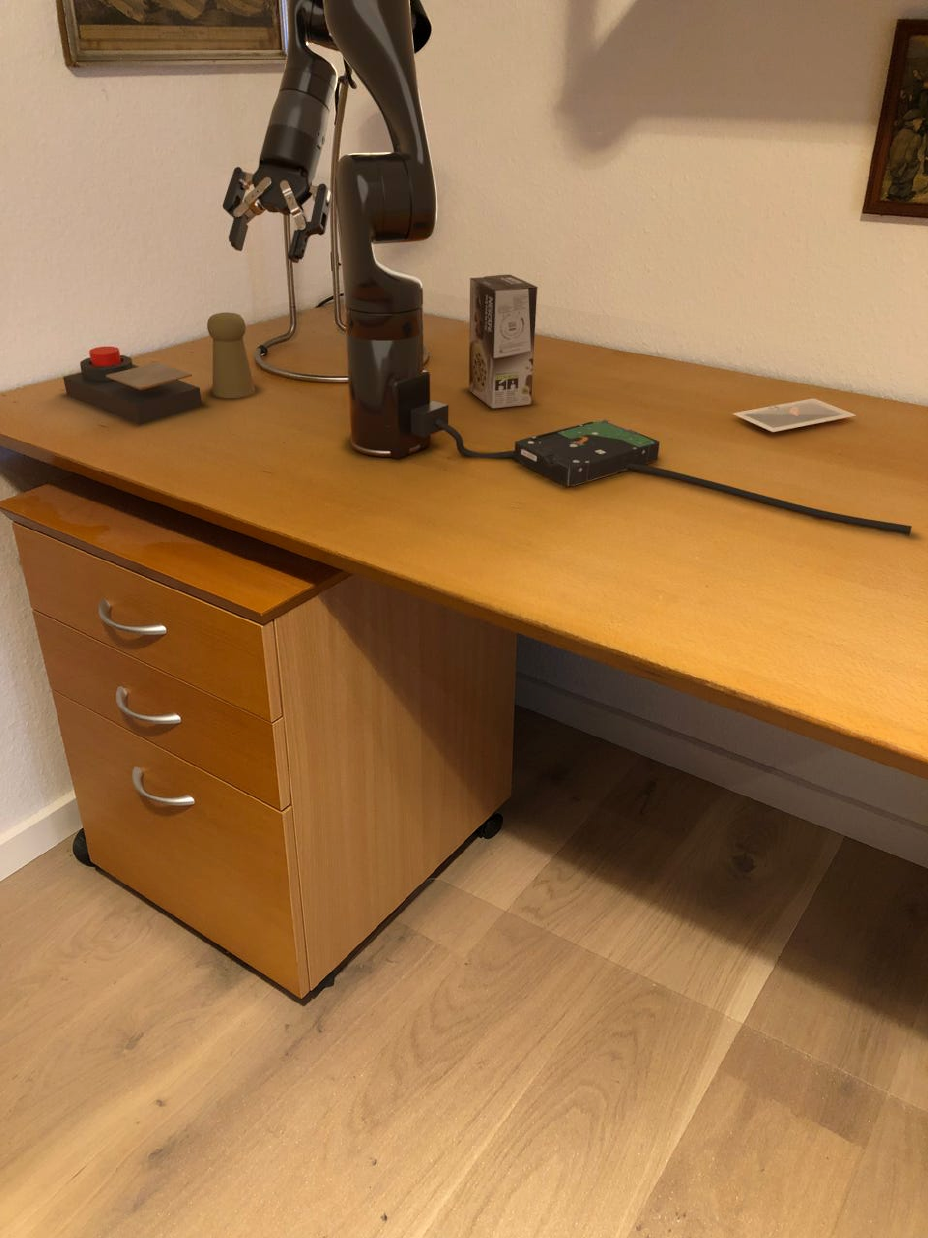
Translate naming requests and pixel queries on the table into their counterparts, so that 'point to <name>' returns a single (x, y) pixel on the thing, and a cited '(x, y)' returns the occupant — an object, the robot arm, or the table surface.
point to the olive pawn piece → (229, 356)
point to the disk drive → (585, 452)
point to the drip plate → (148, 376)
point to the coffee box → (501, 340)
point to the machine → (130, 393)
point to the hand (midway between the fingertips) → (264, 254)
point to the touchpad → (793, 414)
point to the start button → (104, 356)
